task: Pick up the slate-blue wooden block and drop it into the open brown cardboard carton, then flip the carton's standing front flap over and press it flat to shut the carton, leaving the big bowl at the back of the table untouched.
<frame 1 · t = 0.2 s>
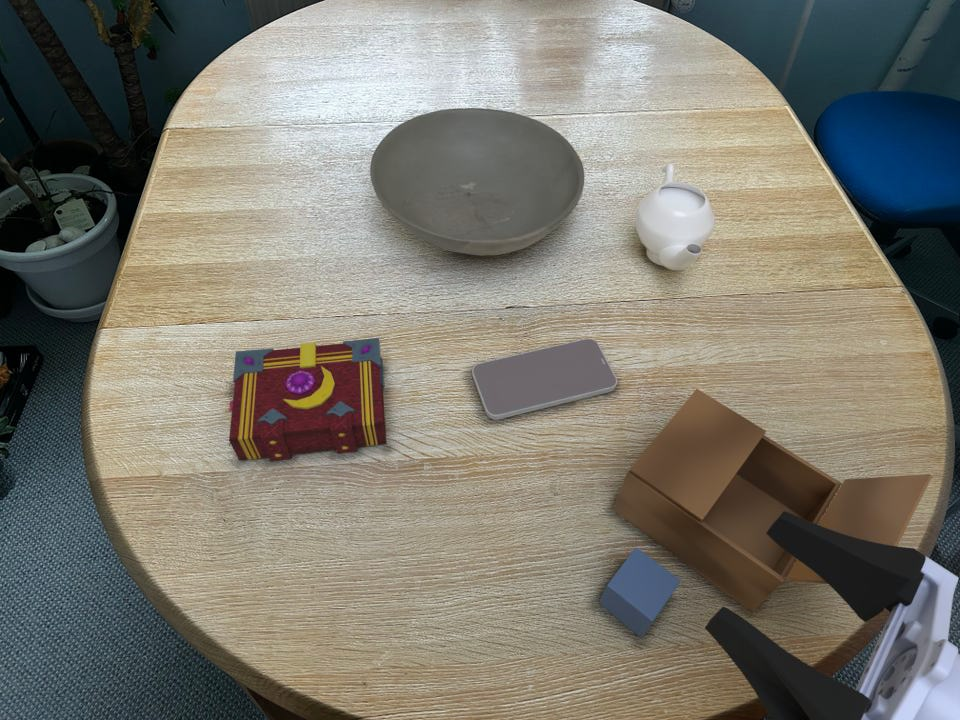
hand: (745, 566, 38), 23 cm above the table, tool horizontal, fingers open, 7 cm apart
block: (633, 601, 60), on the table
teapot: (663, 255, 88), on the table
carton: (710, 514, 65), on the table
decorative book: (309, 412, 72), on the table
smartphone: (543, 380, 75), on the table
flap: (858, 527, 53), point 11 cm above the table, hinge at 125.0°
bowl: (476, 218, 92), on the table
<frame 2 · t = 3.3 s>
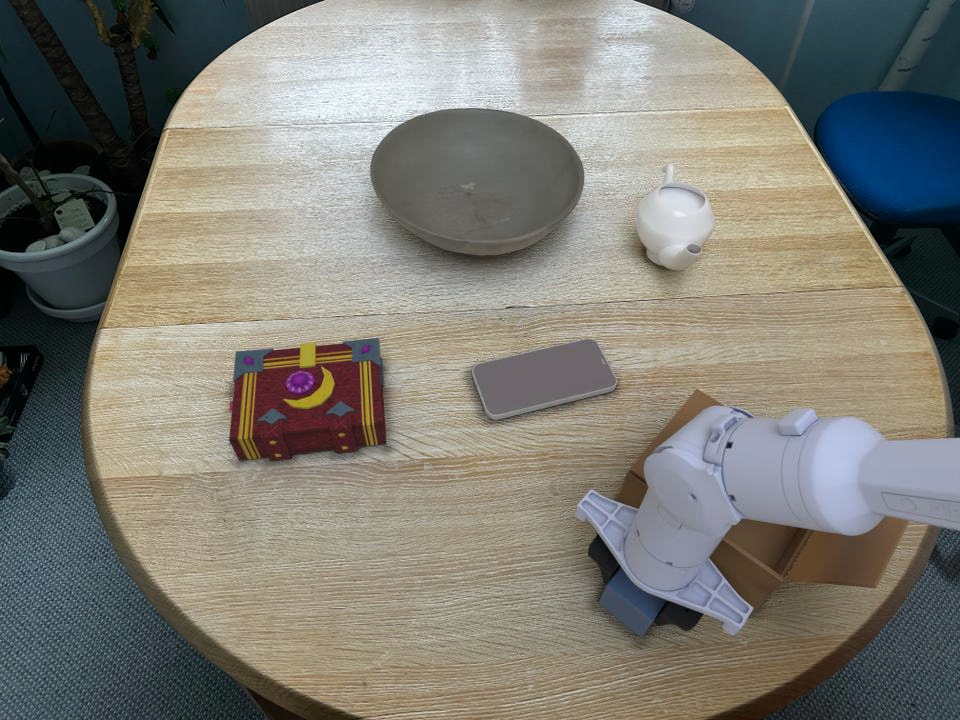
hand: (637, 596, 59), 1 cm above the table, tool pointing down, fingers closed on block, 4 cm apart
block: (633, 601, 60), on the table, touching gripper
everything else where it was.
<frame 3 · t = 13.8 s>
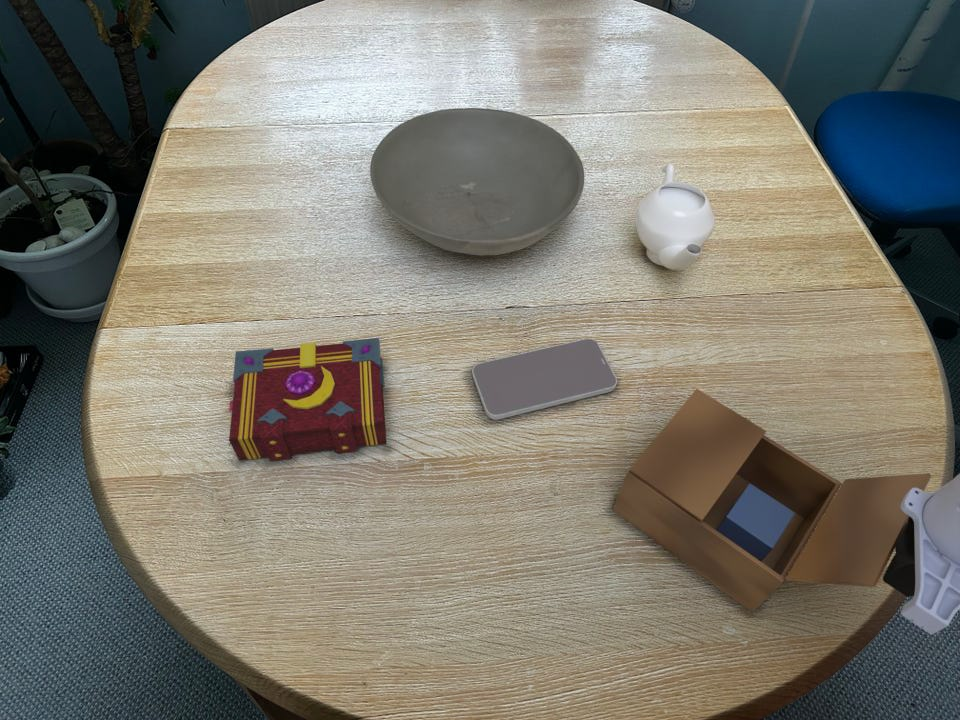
hand: (898, 582, 52), 9 cm above the table, tool pointing down, fingers closed, pressing on flap
block: (744, 535, 63), resting on carton
flap: (858, 527, 53), point 11 cm above the table, hinge at 124.1°, touching gripper
everything else where it was.
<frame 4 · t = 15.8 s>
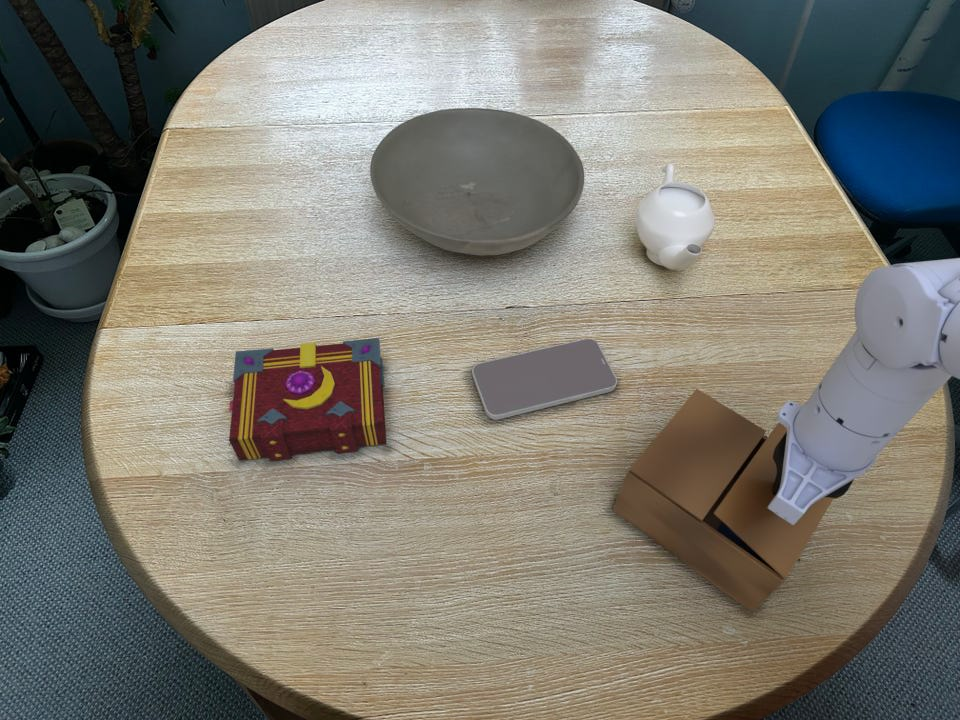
hand: (786, 495, 56), 9 cm above the table, tool pointing down, fingers closed
flap: (781, 495, 57), point 9 cm above the table, hinge at 16.2°, touching gripper
everything else where it was.
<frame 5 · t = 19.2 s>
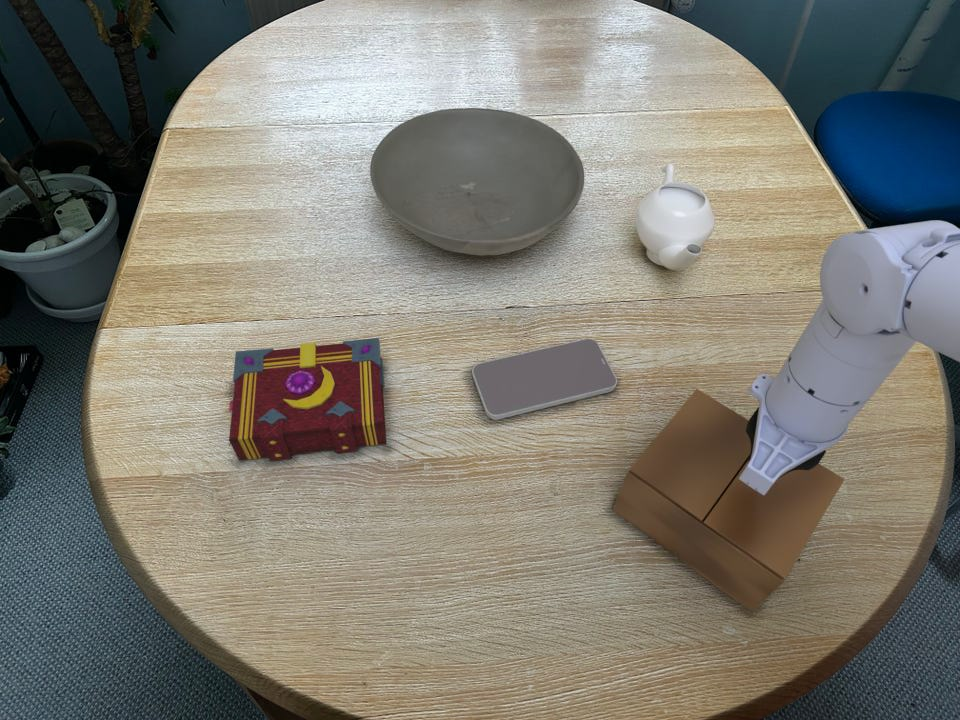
hand: (761, 471, 56), 10 cm above the table, tool pointing down, fingers closed
flap: (775, 500, 57), point 8 cm above the table, hinge at -0.6°
everything else where it was.
at the end: block inside the target area in the carton (3.5 cm from its centre), point 0.4 cm above the carton's base; flap at -1° (first picture: +125°); bowl moved 0.2 cm from its start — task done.
